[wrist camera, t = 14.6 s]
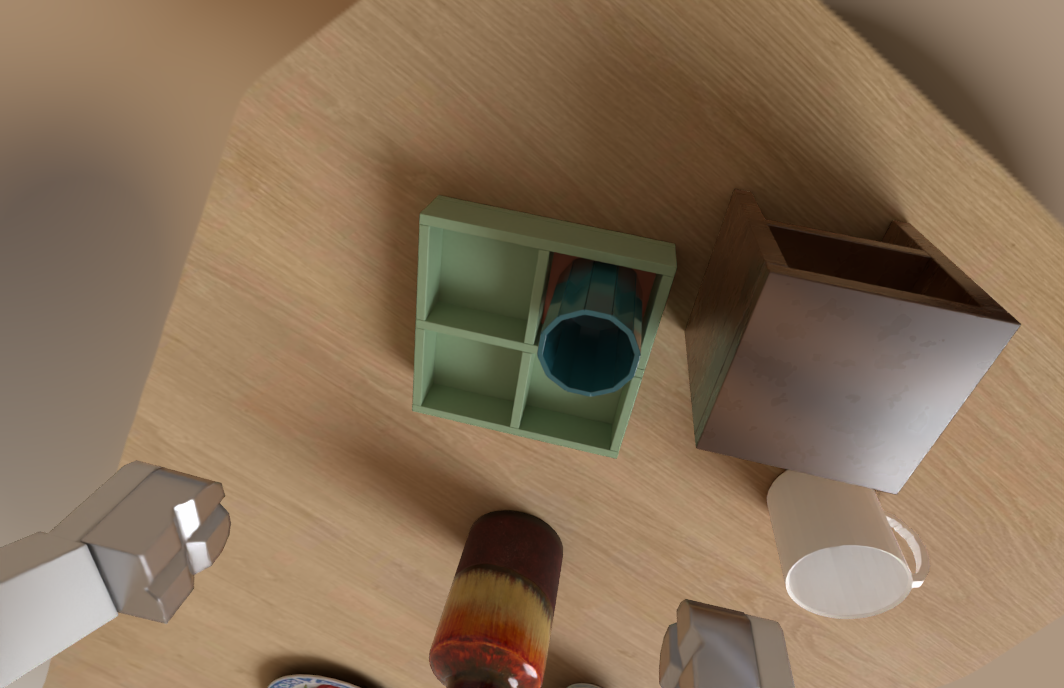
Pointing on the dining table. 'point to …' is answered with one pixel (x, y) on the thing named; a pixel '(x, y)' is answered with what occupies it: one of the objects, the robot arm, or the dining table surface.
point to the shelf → (834, 347)
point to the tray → (518, 321)
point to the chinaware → (583, 685)
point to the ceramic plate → (309, 682)
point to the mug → (841, 547)
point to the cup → (593, 328)
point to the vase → (500, 605)
